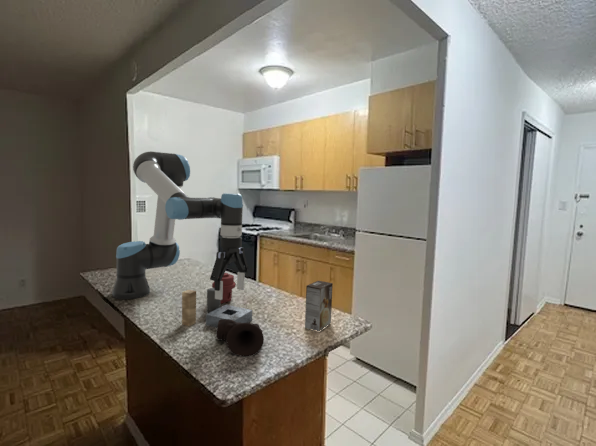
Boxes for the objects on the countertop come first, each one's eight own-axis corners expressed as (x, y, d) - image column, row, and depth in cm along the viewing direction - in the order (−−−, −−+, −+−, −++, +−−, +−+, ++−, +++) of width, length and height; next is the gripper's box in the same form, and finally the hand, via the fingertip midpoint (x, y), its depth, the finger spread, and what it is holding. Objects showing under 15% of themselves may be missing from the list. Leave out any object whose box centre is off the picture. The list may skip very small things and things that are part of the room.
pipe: (220, 312, 114) (214, 321, 99) (264, 315, 115) (265, 324, 101) (217, 341, 113) (210, 355, 98) (262, 343, 115) (261, 358, 100)
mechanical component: (238, 299, 151) (229, 306, 141) (217, 296, 153) (207, 303, 143) (239, 272, 149) (230, 277, 140) (218, 270, 151) (208, 275, 142)
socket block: (205, 325, 121) (206, 314, 120) (225, 314, 132) (226, 304, 131) (233, 332, 116) (233, 320, 116) (252, 320, 127) (252, 310, 127)
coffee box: (316, 320, 129) (318, 279, 128) (331, 324, 126) (333, 282, 124) (304, 328, 121) (305, 285, 120) (319, 333, 118) (321, 288, 116)
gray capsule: (204, 312, 133) (204, 290, 132) (212, 308, 138) (212, 287, 137) (214, 315, 131) (215, 292, 130) (222, 310, 135) (223, 289, 135)
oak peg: (181, 324, 121) (182, 292, 119) (188, 321, 124) (188, 289, 122) (189, 326, 119) (189, 293, 118) (195, 323, 122) (196, 291, 121)
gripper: (218, 241, 108) (217, 305, 110) (258, 233, 131) (256, 287, 133) (199, 239, 111) (199, 301, 113) (241, 232, 134) (240, 284, 136)
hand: (230, 294), depth 123 cm, fingers open, 13 cm apart
